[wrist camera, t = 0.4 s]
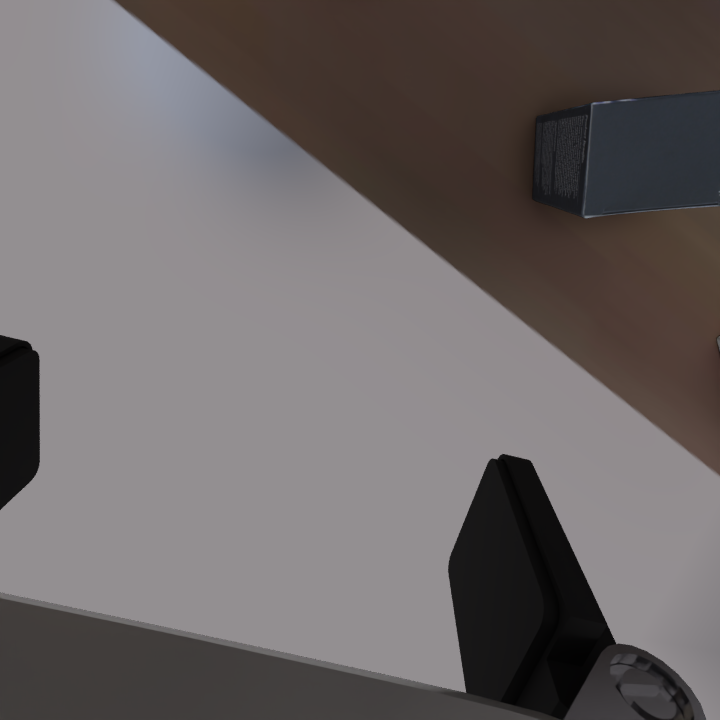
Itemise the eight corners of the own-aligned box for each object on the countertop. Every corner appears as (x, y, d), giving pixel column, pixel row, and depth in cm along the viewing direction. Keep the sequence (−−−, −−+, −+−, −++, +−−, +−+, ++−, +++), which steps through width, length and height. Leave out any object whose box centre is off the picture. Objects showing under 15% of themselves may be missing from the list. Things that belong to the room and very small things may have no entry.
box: (654, 103, 34) (763, 84, 24) (643, 192, 36) (739, 208, 26) (533, 114, 35) (592, 100, 25) (529, 201, 37) (582, 221, 27)
